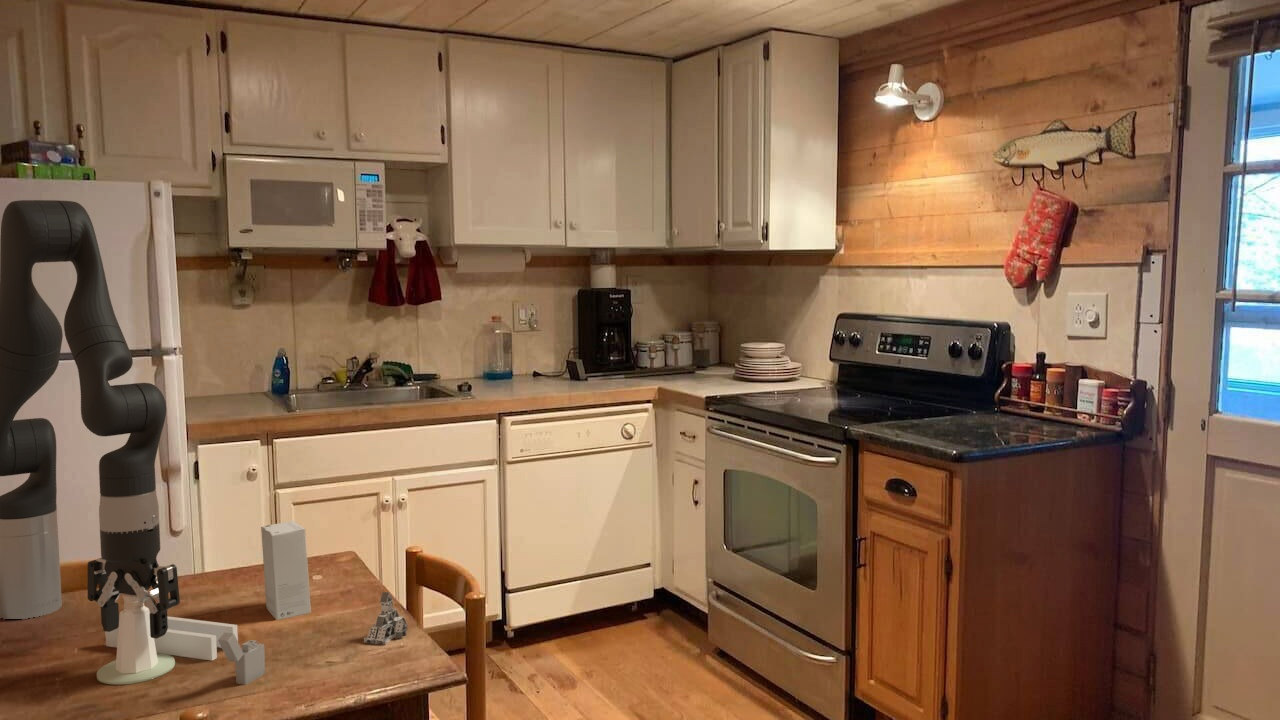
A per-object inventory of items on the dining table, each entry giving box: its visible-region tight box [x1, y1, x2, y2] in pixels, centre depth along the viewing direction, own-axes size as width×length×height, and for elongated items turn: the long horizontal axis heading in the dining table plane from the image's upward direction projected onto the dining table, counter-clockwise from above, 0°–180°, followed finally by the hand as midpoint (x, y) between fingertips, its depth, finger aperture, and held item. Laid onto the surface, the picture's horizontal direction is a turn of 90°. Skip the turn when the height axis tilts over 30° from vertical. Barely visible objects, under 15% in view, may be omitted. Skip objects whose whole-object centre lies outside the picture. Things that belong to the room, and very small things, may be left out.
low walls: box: [104, 615, 239, 661], centre depth 145 cm, size 20×6×4 cm, turn 73°
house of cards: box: [363, 591, 409, 646], centre depth 147 cm, size 9×9×8 cm
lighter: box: [218, 632, 266, 685], centre depth 132 cm, size 7×2×8 cm, turn 161°
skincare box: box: [260, 520, 312, 621], centre depth 160 cm, size 8×6×15 cm
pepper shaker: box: [115, 593, 158, 674], centre depth 136 cm, size 5×5×11 cm
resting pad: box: [96, 653, 176, 686], centre depth 136 cm, size 10×10×1 cm
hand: (134, 633), depth 136 cm, fingers open, 8 cm apart
